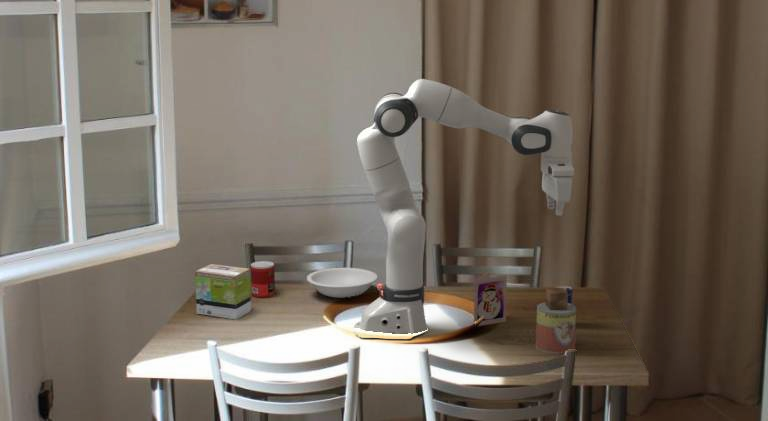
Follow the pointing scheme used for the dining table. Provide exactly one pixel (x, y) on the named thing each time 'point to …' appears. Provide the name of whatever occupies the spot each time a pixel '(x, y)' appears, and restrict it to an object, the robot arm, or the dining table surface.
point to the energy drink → (569, 290)
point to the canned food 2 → (555, 328)
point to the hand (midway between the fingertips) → (554, 211)
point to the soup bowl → (342, 281)
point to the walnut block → (556, 298)
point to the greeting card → (490, 299)
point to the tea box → (223, 291)
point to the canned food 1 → (262, 279)
